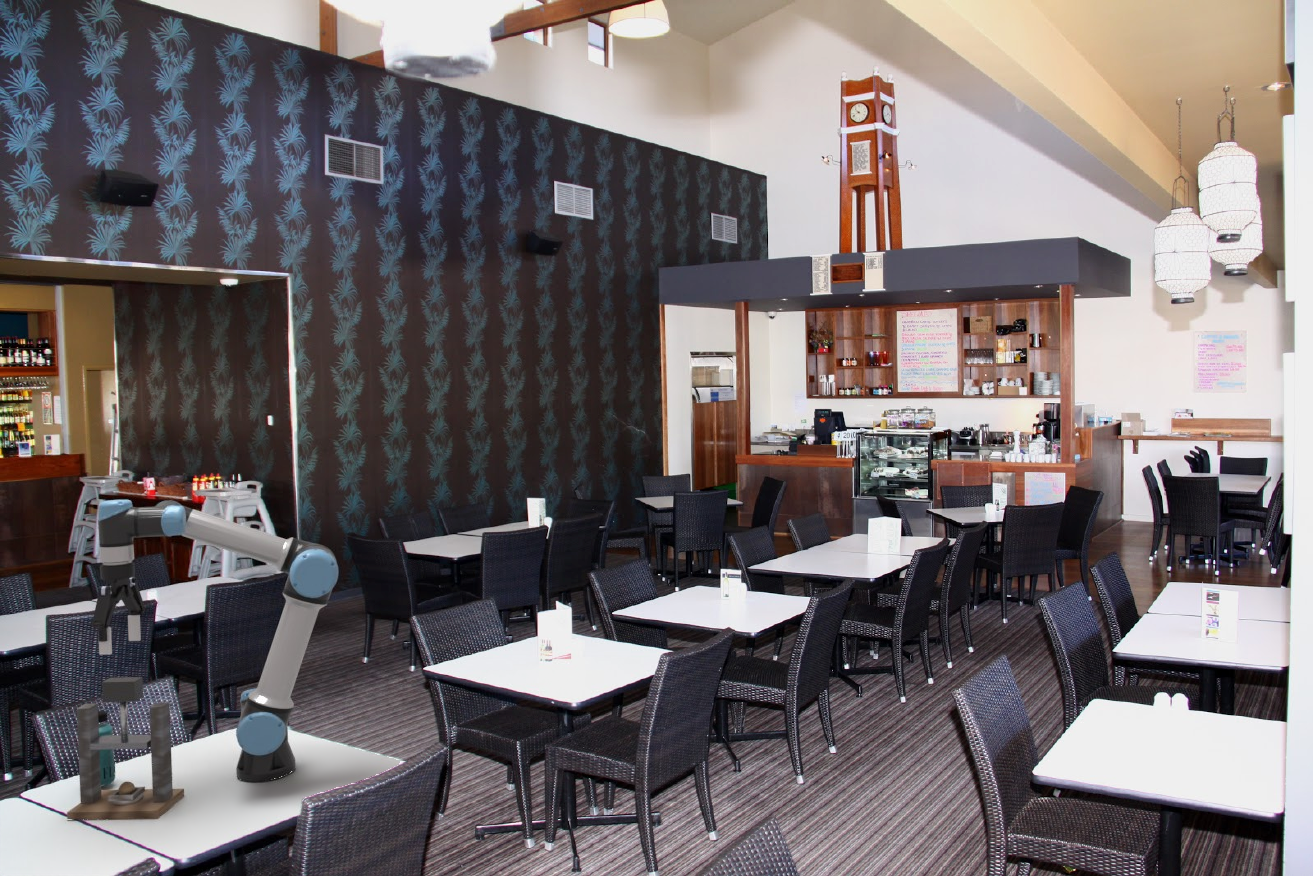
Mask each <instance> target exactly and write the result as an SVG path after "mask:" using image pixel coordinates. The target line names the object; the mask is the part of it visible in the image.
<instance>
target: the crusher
mask: <svg viewBox="0 0 1313 876" xmlns="http://www.w3.org/2000/svg"><path fill="white" fill-rule="evenodd" d="M143 681H144V680H143V677H142V676H134V677H133V676H132V677H131V676H129V677H109V678H107V679H106V680H104V681H102V682H101V690H102V691H101V694H102V703H119V715H120V716H119V720H120V721H119V722H120V735H117V734H116V735H114V734H113V735H106V736H102V737H100V738H98V739H97V740H95V741H94V742H92V743H90V750H100V749H114V750H141V749H143V750H144V749H145V750H147V749H148V748H151V734H129V725H128V723H129V721H128V718H129V717H128V703H129V702H132V703H134V702H138V701H139V700H141V699H142V698H144V685H143V684H144V683H143Z"/></svg>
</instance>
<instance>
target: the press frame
mask: <svg viewBox="0 0 1313 876" xmlns="http://www.w3.org/2000/svg"><path fill="white" fill-rule="evenodd" d="M98 704H99V703H84V704H83V705H80V706H79V707H77V708H76V722H77V748H78V749H77V750H78V773H79V795H80V797H79V798H80V802H79V803H78V804H77V805H76V806H74V807H72V808H71V809H70V810H69V811H67V812H66V820H67V819H78V820H77V821H107V820H106V819H108V821H111V820H113V821H114V820H120V821H121V820H156V819H157V820H158V819H160V818H161V817H162V816H163V815H164V814H165V813H166V812H167V811H168V810H170V809H171V808H172V807H174V805H176V804H178V802H180V801H181V800H182V799H183V798H184V797H185V788H174V787H173V765H172V762H173V761H172V738H171V714H170V713H171V712H170V710H171V709H170V707H171V706H170V702H169V701H167V702H165V701H163V702H161V701H160V702H156V703H155V704H152V705H151V706H149V725H150V728H149V729H150V731H149V733H150V735H151V746H150V754H151V755H150V756H151V758H150V760H151V779H152V780H151V782H152V783H151V785H152V788H146V787H145V786H135V790H134V792H133V794H131V795H120V794H119V788H117V789H102V786H101V772H100V750H90V743H92V742H94V741H95V740H97V739H98V738H99V724H100V723H98V712H99V705H98ZM83 819H84V820H83ZM87 819H88V820H87ZM97 819H99V820H97Z"/></svg>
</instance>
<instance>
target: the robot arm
mask: <svg viewBox="0 0 1313 876" xmlns="http://www.w3.org/2000/svg"><path fill="white" fill-rule="evenodd" d="M97 516H98V517H97V525H98V542H99V543H98V545H99V549H98V553H99V563H101V565H100V566H99V570H100V571H99V572H100V579H101V580H102V581H105V582H106V583H105V586H103V585H102V586H98V589H97V600H96V604H95V608H94V613H93V617H92V623H91V628H93V629H97V631H98V633H97V634H98V654H99V656H100V655H102V656H103V655H112V654H113V647H112V646H113V645H112V627H111V626H110V623H111V621H112V618H113V616H114V615H113V614H114V612H115V609H116V607H117V605H118V604H119V603H120V601H122V603H123V605H124V607H125V608H126V610H127V612H128V613H129V615H127V628H128V629H127V630H128V632H127V634H128V642H139V641H141V640H142V638H141V637H142V635H141V634H142V633H141V617H140V616H141V615H144V614H145V610H146V609H145V608H146V607H145V604H144V600H143V598H142V594H141V591H140V588H139V585H138V578H137V576H135V575H136V574H135V573H136V572H135V570H136V569H135V562H134V561H133V560H135V550H134V549H135V548H134V546H135V545H134V538H148V537H149V538H150V537H154V538H155V537H172V536H182V537H185V538H187V539H191V540H194V541H197V542H201V543H203V544H205V545H206V544H207V545H210V546H213V547H216V548H219V549H222V550H225V551H229V552H231V553H235V554H238V555H240V556H241V555H242V556H244V557H246V558H250V559H254V560H256V561H260V562H263V563H265V564H269V565H272V566H275V567H277V570H278V571H279V572H281V573H285V574H287V575H288V576H287V580H286V582H285V585H284V588H283V590H282V596H283V597H284V599H285V603H284V607H283V610H282V613H281V616H280V619H279V622H278V625H277V628H276V631H275V634H274V637H273V640H272V642H271V646H270V648H269V652H268V654H267V658H266V661H265V663H264V667H263V669H262V673H261V676H260V679H259V681H258V684H257V687H256V688H250V689H247V690H244V691H243V692H242V693H241V694H240V700H239V702H240V709H241V711H240V717H239V722H238V725H237V727H236V729H235V730H236V732H235V733H236V734H235V736H236V741H237V743H238V745H239V747H240V748H241V751H240V753H239V758H238V761H237V764H236V769H235V772H236V773H235V774H236V775H237V776H236V778H237V779H238V778H239V779H238V780H240V779H241V780H240V781H242V780H243V781H244V782H247V783H248V782H249V783H257V782H258V783H259V782H260V783H261V781H262V782H269V781H272V780H271V779H274V778H278V779H280V778H279V777H281V776H284V775H286V774H289V773H290V772H291V771H293V770H294V769H295V767H296V766H297V765H296V763H297V762H296V757H295V755H294V753H293V750H292V748H291V745H290V742H289V735H288V733H289V731H288V729H289V728H288V724H289V720H290V719H291V715H292V712H293V709H294V706H295V704H294V701H293V700H292V698H291V695H292V692H293V690H294V686H295V684H296V682H297V681H296V680H297V677H298V674H299V672H300V668H301V666H302V663H303V659H304V656H305V654H306V650H307V647H308V644H309V642H310V639H311V635H312V633H313V629H314V626H315V624H316V622H317V618H318V615H319V612H320V610H321V609H322V608H324V607H325V606H327V605H328V603H329V600H330V597H331V594H332V591H333V588H335V586H336V584H337V582H338V579H339V571H340V570H339V566H338V561H337V558H336V555H335V554H334V552H333V551H332V550H331V549H330V548H328V547H327V546H325V545H322V544H319V543H316V542H315V543H313V542H311V541H305V540H302V539H300V538H299V539H298V538H296V537H294V536H293V537H289V538H287V539H286V538H283V537H280V536H277V535H274V534H271V533H267V532H264V531H261V530H258V529H255V528H252V527H251V526H246V525H244V524H240V523H237V522H235V521H231V520H228V519H225V518H221V517H218V516H215V515H213V514H209V513H207V512H203V511H200V510H198V509H194V508H191V507H188V506H185V505H182V504H181V503H179V502H178V501H176V500H175V501H174V500H163V501H161V502H158V503H157V504H156V505H155V506H144V507H143V506H142V507H136V506H134V505H133V502H132V500H129V499H113V500H112V499H111V500H103V501H101V502H100V503H99V505H98V515H97ZM296 768H297V767H296ZM295 770H296V769H295ZM295 770H294V771H295ZM294 771H293V772H294ZM289 775H290V774H289ZM284 777H285V776H284ZM281 778H282V777H281ZM268 780H269V781H268ZM274 780H275V779H274ZM243 781H242V782H243Z"/></svg>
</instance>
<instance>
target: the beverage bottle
mask: <svg viewBox="0 0 1313 876" xmlns="http://www.w3.org/2000/svg"><path fill="white" fill-rule="evenodd" d="M108 720H109V717H108V712H107V711H98V723H99V738H100V737H102V736H106V735H114V734H113V733H114V732H113V731H114V727H113V726H112V725H111V724H109V723H106V721H108ZM100 772H101V787H102V786H107V785H110V784H112V783H114V782H115V779H116V763H115V749H100Z"/></svg>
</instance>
